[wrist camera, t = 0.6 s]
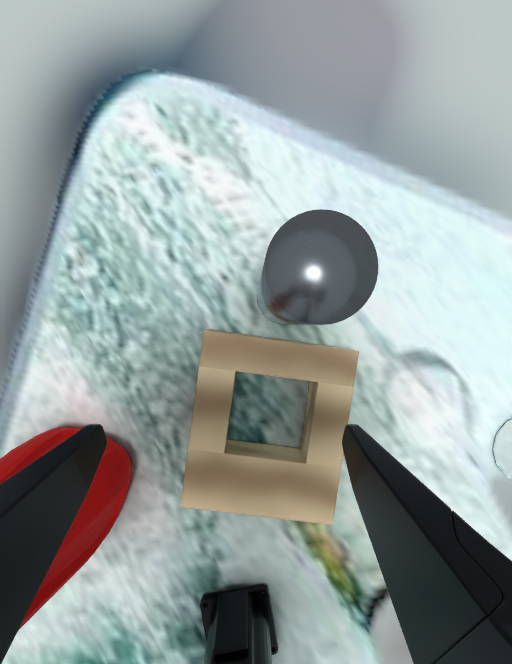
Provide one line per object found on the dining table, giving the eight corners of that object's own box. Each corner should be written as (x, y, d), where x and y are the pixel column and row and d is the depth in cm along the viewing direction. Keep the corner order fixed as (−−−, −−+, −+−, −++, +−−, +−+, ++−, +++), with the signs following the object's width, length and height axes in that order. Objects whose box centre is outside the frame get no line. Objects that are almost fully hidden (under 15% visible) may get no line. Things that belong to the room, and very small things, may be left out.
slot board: (323, 503, 24) (332, 524, 21) (187, 487, 23) (180, 506, 21) (347, 348, 23) (358, 351, 21) (209, 329, 23) (203, 330, 20)
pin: (314, 319, 23) (385, 315, 11) (261, 327, 23) (274, 332, 11) (306, 265, 23) (369, 201, 11) (253, 274, 23) (256, 218, 11)
